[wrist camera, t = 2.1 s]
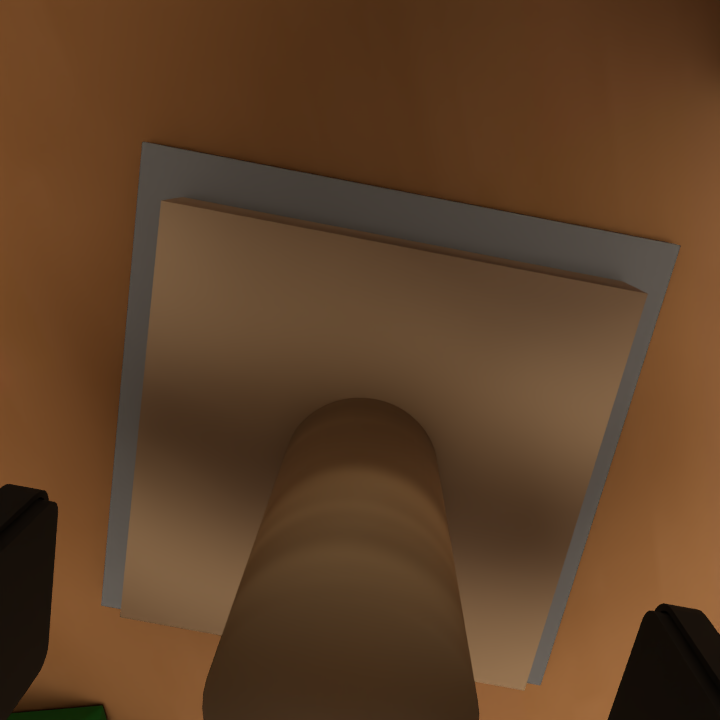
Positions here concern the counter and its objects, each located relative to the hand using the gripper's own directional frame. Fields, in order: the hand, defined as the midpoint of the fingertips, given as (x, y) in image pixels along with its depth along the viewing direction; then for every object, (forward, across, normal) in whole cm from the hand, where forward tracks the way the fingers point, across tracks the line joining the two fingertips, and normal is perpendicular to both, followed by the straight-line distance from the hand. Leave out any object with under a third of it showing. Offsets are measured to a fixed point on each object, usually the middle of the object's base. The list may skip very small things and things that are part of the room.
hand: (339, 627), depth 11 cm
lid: (+6, 0, 0) cm, 6 cm away
